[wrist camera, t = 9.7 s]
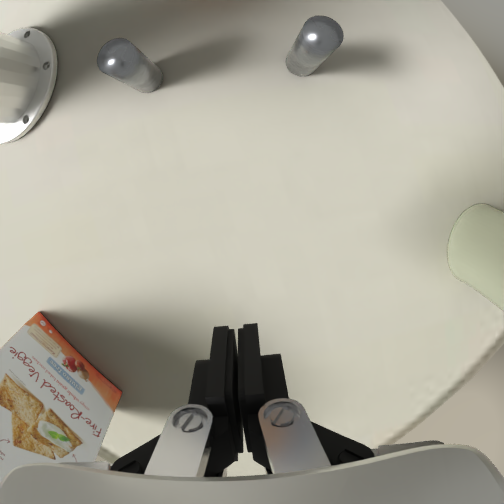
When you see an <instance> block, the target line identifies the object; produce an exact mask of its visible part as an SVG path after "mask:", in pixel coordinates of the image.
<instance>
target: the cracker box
mask: <svg viewBox="0 0 504 504" xmlns="http://www.w3.org/2000/svg"><path fill="white" fill-rule="evenodd" d="M121 395H122V391H120V390H119V389H118V388H116V387H115V386H114V385H113V384H112V383H111V382H110V381H108V380H107V379H106V378H105V377H104V376H103V375H102V374H101V373H99V372H98V371H97V370H96V369H95V368H94V367H93V366H92V365H91V364H90V363H89V362H88V361H87V360H86V359H84V358H83V357H82V356H81V355H80V354H79V353H78V352H77V351H76V350H75V349H74V348H73V347H72V346H71V345H70V344H69V343H68V342H67V341H66V340H65V339H64V338H63V337H62V336H61V335H60V333H59V332H58V331H57V330H56V329H55V328H54V327H53V326H52V325H51V324H50V323H49V322H48V321H47V319H46V318H45V317H44V316H43V315H42V314H41V313H40V312H38V313H36V314H35V315H34V316H33V317H32V318H31V319H30V320H29V321H28V322H26V323H25V324H24V325H23V326H22V327H21V328H20V330H19V331H18V332H16V333H15V334H14V335H13V336H12V337H11V338H10V339H9V340H8V342H7V343H6V344H5V345H4V346H3V347H2V348H1V349H0V483H1V481H2V480H3V478H4V477H5V476H6V475H7V474H8V473H9V472H10V471H11V470H12V469H14V468H16V467H18V466H21V465H26V464H34V463H62V462H95V460H96V457H97V455H98V452H99V449H100V447H101V444H102V442H103V439H104V437H105V434H106V432H107V429H108V427H109V424H110V422H111V419H112V417H113V415H114V412H115V409H116V407H117V404H118V402H119V399H120V397H121Z"/></svg>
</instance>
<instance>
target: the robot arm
mask: <svg viewBox="0 0 504 504" xmlns="http://www.w3.org/2000/svg"><path fill="white" fill-rule="evenodd" d="M56 75H57V54H56V50H55V47H54V44H53V42H52V41H51V39H50V38H49V37H48V36H47V35H46V34H45V33H43V32H41V31H39V30H37V29H34V28H21V29H18V30H15V31H12V32H11V33H9V34H5V33H2V32H0V144H5V143H10V142H13V141H15V140H17V139H19V138H20V137H22V136H24V135H25V134H26V133H27V132H28V131H29V130H30V129H31V128H32V127H33V126H34V125H35V124H36V122H37V121H38V120H39V118H40V117H41V115H42V113H43V112H44V110H45V109H46V106H47V104H48V102H49V100H50V98H51V95H52V92H53V89H54V86H55V81H56ZM243 428H244V434H245V440H246V445H247V450H248V452H252V454H253V460H254V461H256V462H257V463H259V464H260V465H262V466H264V467H265V472H266V475H255V476H237V477H227V467H228V466H229V465H231V464H232V463H233V462H234V461H238V453H243ZM0 504H504V478H503V476H502V475H501V473H500V472H499V471H498V469H497V468H496V467H495V465H494V464H493V463H492V462H491V461H490V459H489V458H488V457H487V456H486V455H484V454H483V453H482V452H481V451H479V450H478V449H476V448H474V447H471V446H467V445H460V444H444V443H442V442H440V441H423V442H415V443H406V444H395V445H381V446H378V449H370V448H369V447H367V446H365V445H363V444H361V443H359V442H356V441H354V440H351V439H349V438H347V437H344V436H342V435H340V434H338V433H335V432H333V431H331V430H329V429H326V428H324V427H322V426H320V425H318V424H316V423H314V422H311V421H310V419H309V417H308V415H307V413H306V411H305V409H304V407H303V406H302V405H301V404H300V403H299V402H297V401H295V400H292V399H289V397H288V392H287V386H286V381H285V375H284V370H283V364H282V359H281V354H273V355H264V356H260V347H259V336H258V326H257V323H255V324H244V325H243V328H240V329H238V353H237V346H236V339H235V332H234V329H229V327H228V326H220V327H214V330H213V338H212V345H211V353H210V360H197V361H196V363H195V368H194V374H193V379H192V385H191V391H190V396H189V402H188V405H184V406H181V407H179V408H177V409H175V410H174V411H173V412H172V413H171V414H170V416H169V417H168V419H167V422H166V424H165V426H164V429H163V431H162V433H161V434H160V435H158V436H157V437H155V438H154V439H152V440H150V441H149V442H147V443H145V444H143V445H142V446H140V447H138V448H137V449H135V450H133V451H131V452H130V453H128V454H126V455H124V456H123V457H121V458H119V459H118V460H117V461H115V462H114V464H110V463H109V462H108V461H101V462H62V463H34V464H26V465H21V466H18V467H16V468H14V469H12V470H11V471H10V472H9V473H8V474H7V475H6V476H5V477H4V478H3V480H2V481H1V483H0Z"/></svg>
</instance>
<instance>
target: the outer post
mask: <svg viewBox="0 0 504 504" xmlns="http://www.w3.org/2000/svg"><path fill="white" fill-rule="evenodd" d="M342 41H343V31H342V29H341V27H340V25H339V24H338V23H337V22H336V21H334V20H333V19H331V18H329V17H326V16H314V17H311V18H309V19H308V20H307V21H306V22H305V24H304V26H303V28H302V29H301V31H300V33H299V35H298V37H297V39H296V41H295V42H294V44H293V46H292V48H291V50H290V52H289V54H288V56H287V58H286V65H287V68H288V69H289V71H290V72H291V73H293V74H295V75H297V76H308V75H310V74H311V73H312V72H313V71H314V70H315V69H316V68H317V67H318V66H319V65H320V64H321V63H322V62H323V61H324V60H325V59H326V58H327V57H329V56H330V55H331V54H332V53H333V52H334V51H335V50H336V49H337V48H338V47H339V46H340V45H341V43H342Z"/></svg>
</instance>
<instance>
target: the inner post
mask: <svg viewBox="0 0 504 504" xmlns="http://www.w3.org/2000/svg"><path fill="white" fill-rule="evenodd" d="M97 64H98V67H99V69H100V70H101V71H102V72H103V73H105V74H107V75H109V76H111V77H113V78H115V79H117V80H119V81H121V82H123V83H125V84H127V85H129V86H131V87H133V88H135V89H137V90H138V91H140V92H143V93H150V92H153V91H155V90H156V89H157V88H158V87H159V86H160V85H161V83H162V80H163V74H162V72H161V70H160V69H159V68H158V67H157V66H156V65H155V64H154V63H153V62H152V61H151V60H150V59H148V58H147V57H146V56H145V55H144V54H143V53H142V52H141V51H140V50H139V49H137V48H136V47H135V46H134V45H133V44H132V43H131V42H130V41H128V40H127V39H123V38H117V39H113V40H111V41H109V42H107V43H106V44H105V45H104V46H103V47H102V48H101V50H100V52H99V54H98V57H97Z"/></svg>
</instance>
